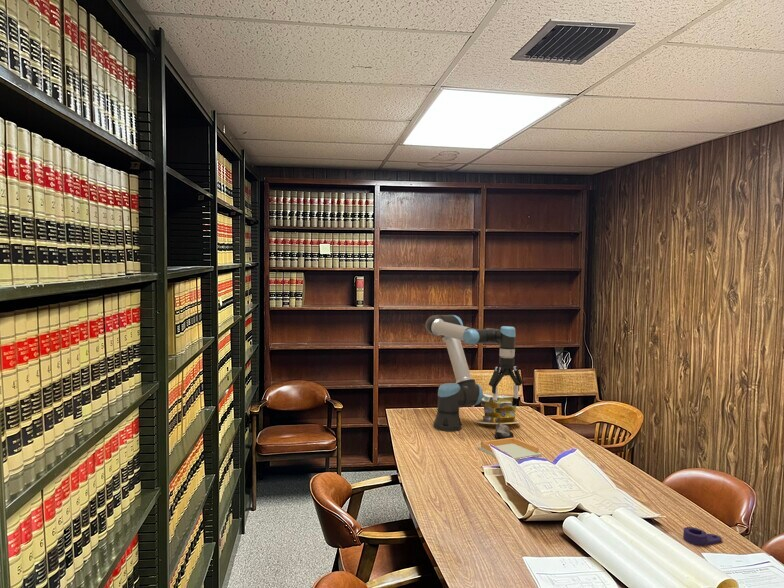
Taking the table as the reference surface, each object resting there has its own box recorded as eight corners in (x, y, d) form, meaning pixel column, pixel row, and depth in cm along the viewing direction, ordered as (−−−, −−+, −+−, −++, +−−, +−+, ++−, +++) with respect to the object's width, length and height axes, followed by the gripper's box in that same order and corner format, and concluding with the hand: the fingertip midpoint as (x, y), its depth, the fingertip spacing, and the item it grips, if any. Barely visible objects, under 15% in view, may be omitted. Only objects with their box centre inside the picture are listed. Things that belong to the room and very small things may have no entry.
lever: (693, 547, 160) (693, 537, 160) (678, 537, 166) (679, 527, 166) (727, 545, 162) (728, 535, 162) (712, 535, 168) (712, 526, 168)
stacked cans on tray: (468, 419, 303) (469, 390, 302) (507, 418, 309) (508, 390, 309) (486, 431, 279) (488, 400, 279) (528, 430, 285) (529, 399, 285)
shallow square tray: (477, 448, 248) (478, 441, 248) (511, 443, 258) (512, 436, 258) (506, 462, 230) (506, 453, 230) (541, 456, 241) (541, 448, 240)
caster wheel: (509, 448, 259) (490, 441, 264) (516, 438, 269) (497, 432, 274) (511, 436, 258) (492, 430, 262) (518, 426, 267) (499, 420, 272)
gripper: (492, 358, 256) (490, 402, 256) (530, 357, 268) (529, 398, 268) (482, 356, 262) (481, 399, 263) (520, 355, 274) (519, 395, 275)
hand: (505, 399), depth 265 cm, fingers open, 13 cm apart
